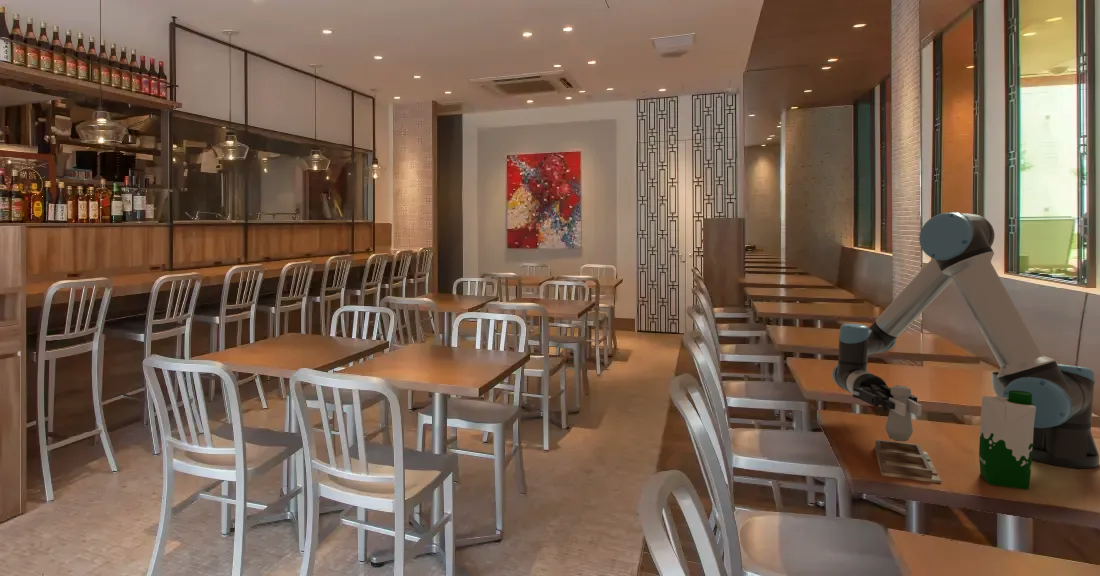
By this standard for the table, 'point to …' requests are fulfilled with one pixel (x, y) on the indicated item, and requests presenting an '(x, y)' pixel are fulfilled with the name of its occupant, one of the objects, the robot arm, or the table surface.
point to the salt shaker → (899, 416)
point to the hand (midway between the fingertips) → (911, 410)
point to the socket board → (905, 461)
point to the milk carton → (1007, 439)
